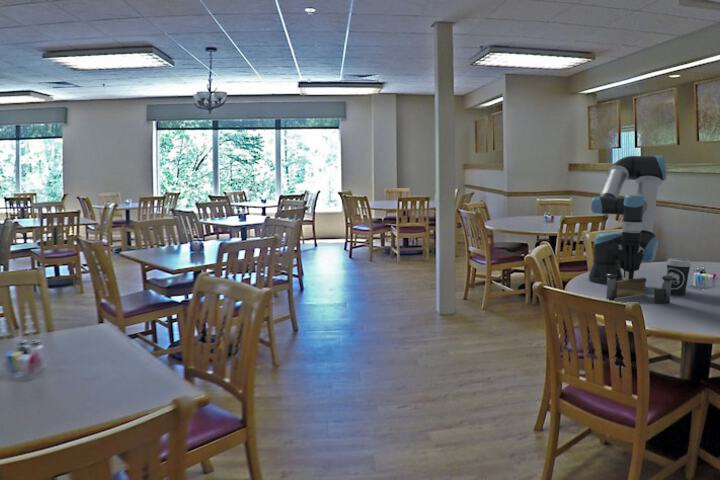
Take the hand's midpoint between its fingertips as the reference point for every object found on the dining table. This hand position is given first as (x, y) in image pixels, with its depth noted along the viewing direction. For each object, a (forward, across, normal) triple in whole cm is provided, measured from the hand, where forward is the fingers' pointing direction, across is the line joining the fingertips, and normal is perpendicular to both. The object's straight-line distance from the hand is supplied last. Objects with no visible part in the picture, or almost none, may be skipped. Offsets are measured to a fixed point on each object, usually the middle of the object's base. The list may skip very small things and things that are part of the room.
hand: (627, 285), depth 238 cm
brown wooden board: (+4, +2, -2) cm, 5 cm away
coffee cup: (+4, +10, +19) cm, 22 cm away
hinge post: (+4, +1, -12) cm, 13 cm away
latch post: (+4, +15, +1) cm, 15 cm away
